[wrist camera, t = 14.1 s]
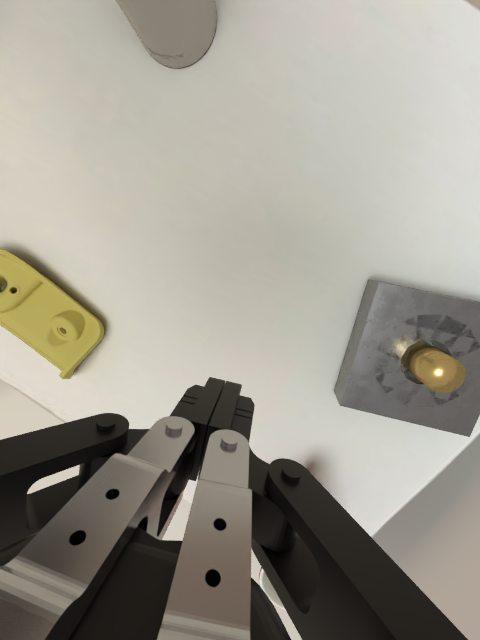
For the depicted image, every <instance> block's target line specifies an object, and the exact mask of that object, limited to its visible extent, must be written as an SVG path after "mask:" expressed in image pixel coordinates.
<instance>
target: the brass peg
mask: <svg viewBox="0 0 480 640" xmlns="http://www.w3.org/2000/svg"><path fill="white" fill-rule="evenodd" d="M401 364H402V365H403V366H404V367H405V368H406V369H407V370H409V371H410V372H411V373H412V374H413V375H414V376H416V377H417V378H418V379H419V380H420V381H421V382H423V383H424V384H425V385H426V386H427V387H428V388H430V389H431V390H433V391H435V392H438V393H449V392H452V391H454V390H456V389H457V388H459V387H460V386H461V385H462V383H463V382H464V379H465V374H466V373H465V368H464V366H463V365H462V364H461V363H460V362H459V361H458V360H456V359H454V358H452V357H451V356H449V355H447V354H445V353H444V352H442V351H440V350H438V349H437V348H435V347H433V346H431V345H430V344H428V343H426V342H424V341H423V340H420V341H418V342H416V343H414V344H412V345H410V346H409V347H408V348H407V349H406V351H405V352H404V354H403V355H402V357H401Z"/></svg>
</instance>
